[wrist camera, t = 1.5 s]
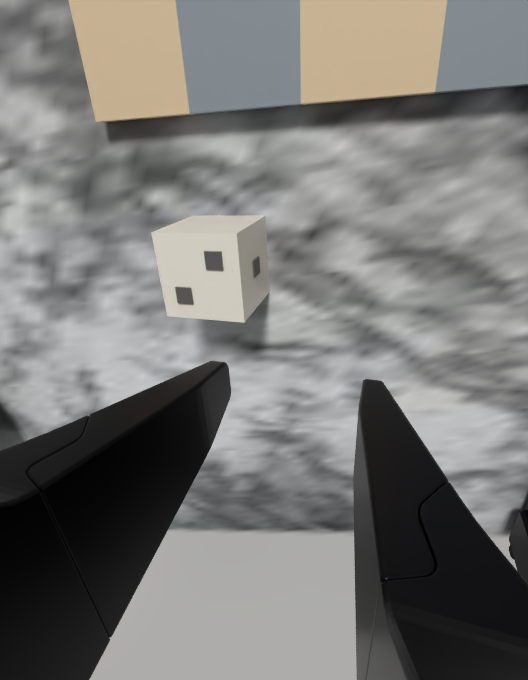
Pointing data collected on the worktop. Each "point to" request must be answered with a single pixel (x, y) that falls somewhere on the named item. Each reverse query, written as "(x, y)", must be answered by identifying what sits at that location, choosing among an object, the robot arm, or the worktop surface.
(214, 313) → the die
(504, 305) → the worktop surface
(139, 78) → the track
